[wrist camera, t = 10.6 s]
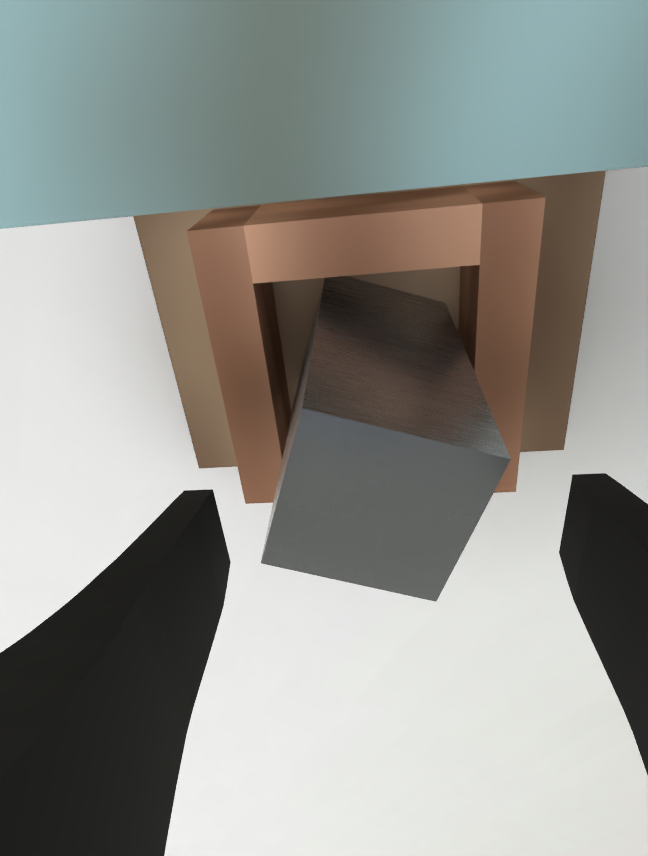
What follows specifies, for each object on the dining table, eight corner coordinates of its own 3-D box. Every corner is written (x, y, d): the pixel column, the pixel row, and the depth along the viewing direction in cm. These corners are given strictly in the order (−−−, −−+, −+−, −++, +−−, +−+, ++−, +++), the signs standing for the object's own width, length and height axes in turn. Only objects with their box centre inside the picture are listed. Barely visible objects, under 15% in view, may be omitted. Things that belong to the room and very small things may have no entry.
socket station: (633, -128, 13) (1304, -664, 4) (555, 435, 21) (709, 701, 12) (79, -48, 15) (-423, -303, 5) (205, 454, 23) (98, 707, 13)
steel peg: (445, 302, 18) (510, 459, 10) (405, 406, 20) (435, 601, 12) (326, 270, 18) (302, 407, 10) (298, 379, 20) (260, 562, 12)
